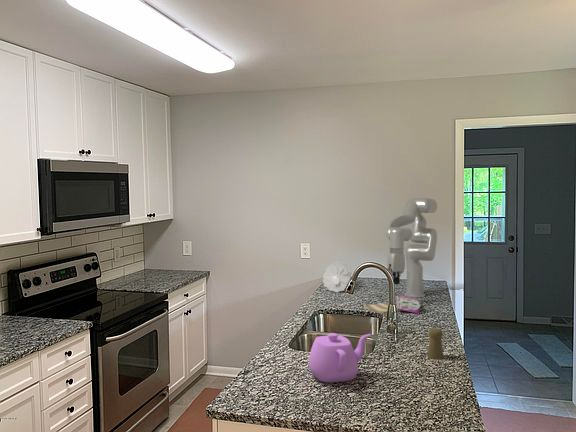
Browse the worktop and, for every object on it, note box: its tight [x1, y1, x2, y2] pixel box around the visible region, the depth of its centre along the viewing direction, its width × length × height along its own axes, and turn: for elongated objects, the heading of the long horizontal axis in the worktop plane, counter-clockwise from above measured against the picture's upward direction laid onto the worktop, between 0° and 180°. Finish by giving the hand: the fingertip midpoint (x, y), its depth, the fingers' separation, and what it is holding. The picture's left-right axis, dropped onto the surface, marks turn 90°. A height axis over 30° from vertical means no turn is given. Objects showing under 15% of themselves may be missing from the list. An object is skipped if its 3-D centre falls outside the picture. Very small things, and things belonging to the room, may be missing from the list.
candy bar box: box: [395, 293, 421, 314], centre depth 261 cm, size 11×5×16 cm
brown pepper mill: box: [427, 328, 444, 360], centre depth 188 cm, size 6×6×11 cm
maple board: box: [363, 302, 402, 315], centre depth 262 cm, size 15×15×1 cm
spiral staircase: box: [322, 260, 353, 293], centre depth 314 cm, size 18×18×25 cm
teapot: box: [308, 332, 372, 383], centre depth 169 cm, size 23×21×15 cm
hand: (396, 283), depth 267 cm, fingers closed
